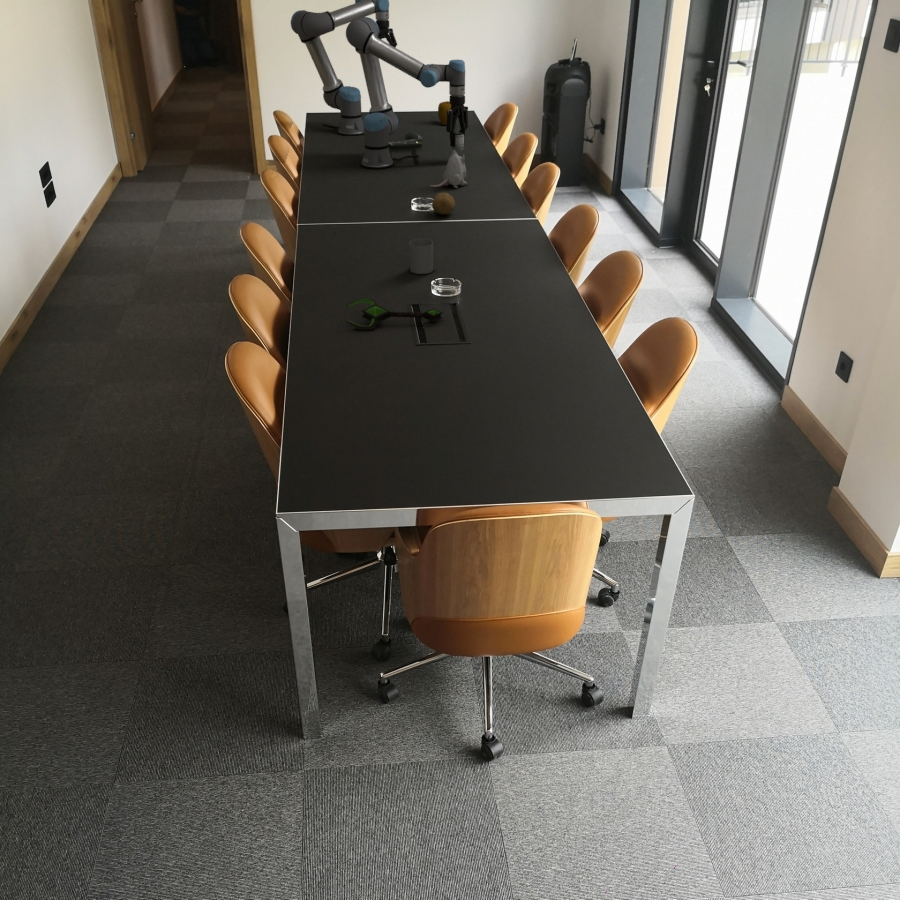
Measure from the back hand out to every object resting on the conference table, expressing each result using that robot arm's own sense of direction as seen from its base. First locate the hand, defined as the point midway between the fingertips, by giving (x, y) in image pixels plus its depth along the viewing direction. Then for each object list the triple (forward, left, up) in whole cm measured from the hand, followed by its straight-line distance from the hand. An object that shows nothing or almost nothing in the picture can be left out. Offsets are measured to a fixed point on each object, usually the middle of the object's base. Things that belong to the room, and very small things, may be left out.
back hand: (383, 61), depth 494 cm
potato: (+103, -147, -33) cm, 183 cm away
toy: (+90, -113, -33) cm, 148 cm away
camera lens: (+76, -69, -26) cm, 106 cm away
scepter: (+134, -253, -33) cm, 289 cm away
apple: (+37, +6, -33) cm, 50 cm away
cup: (+123, -209, -33) cm, 245 cm away
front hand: (+76, -69, -24) cm, 105 cm away
